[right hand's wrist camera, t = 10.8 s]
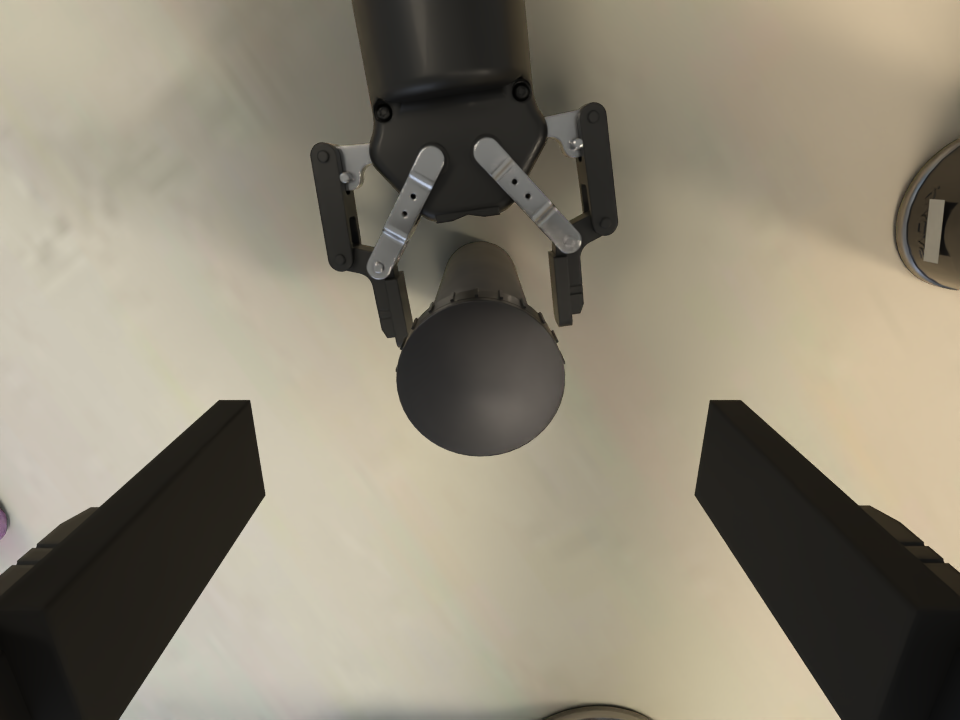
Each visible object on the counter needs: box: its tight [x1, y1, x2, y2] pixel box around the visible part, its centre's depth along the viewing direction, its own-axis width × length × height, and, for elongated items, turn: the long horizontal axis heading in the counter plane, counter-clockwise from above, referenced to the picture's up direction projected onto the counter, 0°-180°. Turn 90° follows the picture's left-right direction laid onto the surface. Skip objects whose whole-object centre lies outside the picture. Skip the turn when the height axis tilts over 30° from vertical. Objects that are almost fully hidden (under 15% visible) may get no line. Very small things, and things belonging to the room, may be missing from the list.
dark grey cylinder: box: [434, 242, 527, 304], centre depth 26 cm, size 5×5×17 cm
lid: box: [396, 287, 565, 456], centre depth 18 cm, size 6×6×2 cm
